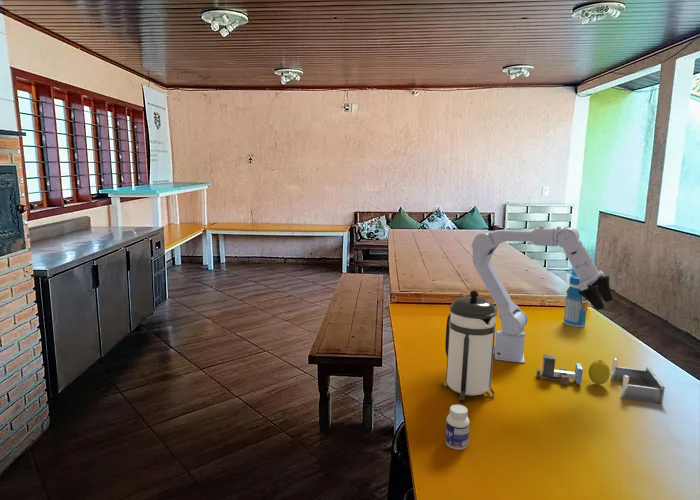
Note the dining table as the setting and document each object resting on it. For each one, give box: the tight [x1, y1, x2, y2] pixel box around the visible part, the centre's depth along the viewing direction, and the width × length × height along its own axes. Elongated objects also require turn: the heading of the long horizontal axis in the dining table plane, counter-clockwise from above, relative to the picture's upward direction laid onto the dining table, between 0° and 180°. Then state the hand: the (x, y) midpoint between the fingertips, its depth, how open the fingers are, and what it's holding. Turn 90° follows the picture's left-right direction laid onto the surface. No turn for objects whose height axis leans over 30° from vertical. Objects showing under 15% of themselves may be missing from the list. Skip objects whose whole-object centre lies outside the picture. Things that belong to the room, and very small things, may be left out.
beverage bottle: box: [563, 274, 589, 328], centre depth 194 cm, size 8×8×20 cm
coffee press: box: [441, 289, 498, 403], centre depth 134 cm, size 17×16×30 cm
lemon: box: [588, 359, 611, 386], centre depth 141 cm, size 6×6×8 cm
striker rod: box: [541, 354, 584, 386], centre depth 144 cm, size 11×4×7 cm, turn 73°
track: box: [536, 367, 570, 386], centre depth 145 cm, size 9×6×2 cm
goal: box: [610, 357, 666, 404], centre depth 138 cm, size 10×14×6 cm
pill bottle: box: [444, 404, 470, 450], centre depth 110 cm, size 5×5×9 cm
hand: (605, 304), depth 142 cm, fingers open, 7 cm apart
